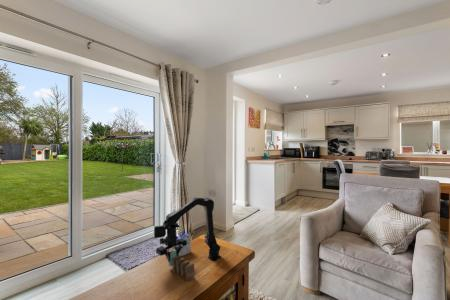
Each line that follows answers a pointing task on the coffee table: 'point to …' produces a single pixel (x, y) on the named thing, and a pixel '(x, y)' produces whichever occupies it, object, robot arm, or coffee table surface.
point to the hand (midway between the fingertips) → (172, 260)
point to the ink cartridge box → (186, 248)
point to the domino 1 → (172, 256)
